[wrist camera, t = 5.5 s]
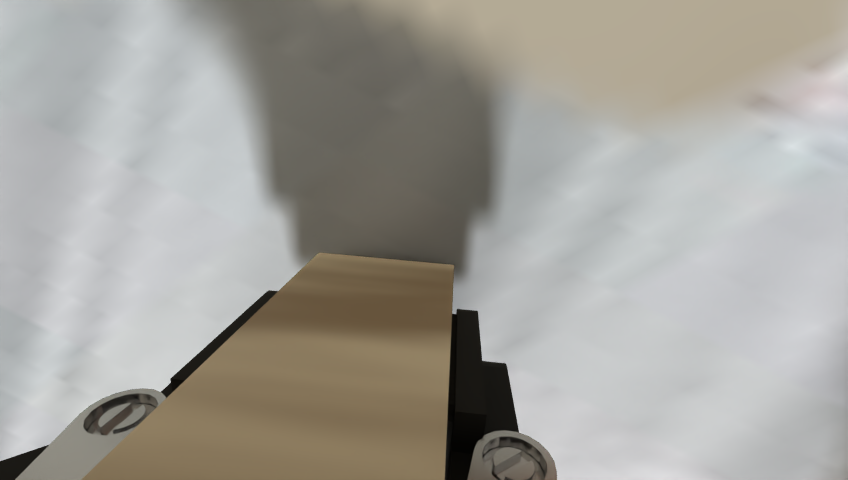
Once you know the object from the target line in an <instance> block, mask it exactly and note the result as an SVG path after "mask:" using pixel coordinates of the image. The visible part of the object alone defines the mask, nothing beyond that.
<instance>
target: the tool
mask: <svg viewBox="0 0 848 480" xmlns="http://www.w3.org/2000/svg"><path fill="white" fill-rule="evenodd" d="M453 279H454V265H449V264H438V263H427V262H416V261H405V260H395V259H384V258H373V257H362V256H351V255H340V254H330V253H318V254H317V255H316V256H315V257H314V258H313V259H312V260H311V261H309V262H308V263H307V264H306V265H305V266H304V267H303V268H302V269H301V270H300V271H299V272H298V273H297V274H296V275H295V276H294V277H293V278H292V279H291V280H290V281H289V282H288V283H286V284H285V285H284V286H283V287H282V288H281V289H280V290H279V291H278V292H277V293H276V294H275V295H274V296H273V297H272V298H271V299H270V300H269V301H268V302H267V303H266V304H264V305H263V306H262V307H261V308H260V309H259V310H258V311H257V312H256V313H255V314H254V315H253V316H252V317H251V318H250V319H249V320H248V321H247V322H246V323H245V324H244V325H243V326H241V327H240V328H239V329H238V330H237V331H236V332H235V333H234V334H233V335H232V336H231V337H230V338H229V339H228V340H227V341H226V342H225V343H224V344H223V345H222V346H221V347H220V348H218V349H217V350H216V351H215V352H214V353H213V354H212V355H211V356H210V357H209V358H208V359H207V360H206V361H205V362H204V363H203V364H202V365H201V366H200V367H199V368H198V369H196V370H195V371H194V372H193V373H192V374H191V375H190V376H189V377H188V378H187V379H186V380H185V381H184V382H183V383H182V384H181V385H180V386H179V387H178V388H177V389H176V390H175V391H173V392H172V393H171V394H170V395H169V396H168V397H167V398H166V399H165V400H164V401H163V402H162V403H161V404H160V405H159V406H158V407H157V408H156V409H155V410H154V411H153V412H151V413H150V414H149V415H148V416H147V417H146V418H145V419H144V420H143V421H142V422H141V423H140V424H139V425H138V426H137V427H136V428H135V429H134V430H133V431H132V432H131V433H130V434H128V435H127V436H126V437H125V438H124V439H123V440H122V441H121V442H120V443H119V444H118V445H117V446H116V447H115V448H114V449H113V450H112V451H111V452H110V453H109V454H108V455H106V456H105V457H104V458H103V459H102V460H101V461H100V462H99V463H98V464H97V465H96V466H95V467H94V468H93V469H92V470H91V471H90V472H89V473H88V474H87V475H86V476H85V477H83V478H82V479H81V480H445V460H446V438H447V415H448V392H449V370H450V347H451V324H452V302H453Z"/></svg>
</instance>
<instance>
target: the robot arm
mask: <svg viewBox="0 0 848 480" xmlns="http://www.w3.org/2000/svg"><path fill="white" fill-rule="evenodd" d="M277 292H278V291H267V292H266V293H265V294H264V295H263V296H262V297H261V298H259V299H258V300H257V301H256V302H255V303H254V304H253V305H252V306H251V307H249V308H248V309H247V310H246V311H245V312H244V313H243V314H242V315H241V316H239V317H238V318H237V319H236V320H235V321H234V322H233V323H232V324H231V325H230V326H228V327H227V328H226V329H225V330H224V331H223V332H222V333H221V334H220V335H218V336H217V337H216V338H215V339H214V340H213V341H212V342H211V343H210V344H208V345H207V346H206V347H205V348H204V349H203V350H202V351H201V352H200V353H198V354H197V355H196V356H195V357H194V358H193V359H192V360H191V361H190V362H189V363H187V364H186V365H185V366H184V367H183V368H182V369H181V370H180V371H179V372H177V373H176V374H175V375H174V376H173V377H172V378H171V383H170V384H169V385H168V386H167V387H166V388H165V389H164V390H163V391H161V392H159V391H156V390H154V389H144V388H142V389H132V390H127V391H123V392H119V393H115V394H113V395H110V396H108V397H105V398H103V399H101V400H99V401H97V402H95V403H94V404H92V405H90V406H89V407H88V408H86V409H85V410H84V411H83V412H82V413H80V414H79V415H78V416H77V417H76V418H75V419H74V420H73V421H72V422H71V423H70V424H69V425H68V426H67V427H66V428H65V430H64V431H63V432H62V433H61V434H60V435H59V436H58V437H57V438H56V439H55V440H54V441H53V442H52V443H51V444H50V445H47V446H44V447H41V448H38V449H35V450H32V451H29V452H26V453H23V454H21V455H18V456H15V457H12V458H9V459H6V460H3V461H0V480H81V479H82V478H83V477H85V476H86V475H87V474H88V473H89V472H90V471H91V470H92V469H93V468H94V467H95V466H96V465H97V464H98V463H99V462H100V461H101V460H102V459H103V458H104V457H105V456H106V455H108V454H109V453H110V452H111V451H112V450H113V449H114V448H115V447H116V446H117V445H118V444H119V443H120V442H121V441H122V440H123V439H124V438H125V437H126V436H127V435H128V434H130V433H131V432H132V431H133V430H134V429H135V428H136V427H137V426H138V425H139V424H140V423H141V422H142V421H143V420H144V419H145V418H146V417H147V416H148V415H149V414H150V413H151V412H153V411H154V410H155V409H156V408H157V407H158V406H159V405H160V404H161V403H162V402H163V401H164V400H165V399H166V398H167V397H168V396H169V395H170V394H171V393H172V392H173V391H175V390H176V389H177V388H178V387H179V386H180V385H181V384H182V383H183V382H184V381H185V380H186V379H187V378H188V377H189V376H190V375H191V374H192V373H193V372H194V371H195V370H196V369H198V368H199V367H200V366H201V365H202V364H203V363H204V362H205V361H206V360H207V359H208V358H209V357H210V356H211V355H212V354H213V353H214V352H215V351H216V350H217V349H218V348H220V347H221V346H222V345H223V344H224V343H225V342H226V341H227V340H228V339H229V338H230V337H231V336H232V335H233V334H234V333H235V332H236V331H237V330H238V329H239V328H240V327H241V326H243V325H244V324H245V323H246V322H247V321H248V320H249V319H250V318H251V317H252V316H253V315H254V314H255V313H256V312H257V311H258V310H259V309H260V308H261V307H262V306H263V305H264V304H266V303H267V302H268V301H269V300H270V299H271V298H272V297H273V296H274V295H275V294H276V293H277ZM445 480H557V471H556V467H555V463H554V460H553V458H552V457H551V455H550V454H549V452H548V451H547V450H546V449H545V448H544V447H543V446H542V445H541V444H540V443H539V442H537V441H536V440H534V439H532V438H531V437H529V436H527V435H524V434H521V433H519V430H518V425H517V419H516V414H515V409H514V403H513V398H512V392H511V387H510V381H509V376H508V370H507V366H506V364H505V363H496V362H486V361H482V355H481V343H480V332H479V320H478V311H472V310H461V309H457V314H452V324H451V347H450V370H449V392H448V415H447V438H446V460H445Z"/></svg>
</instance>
